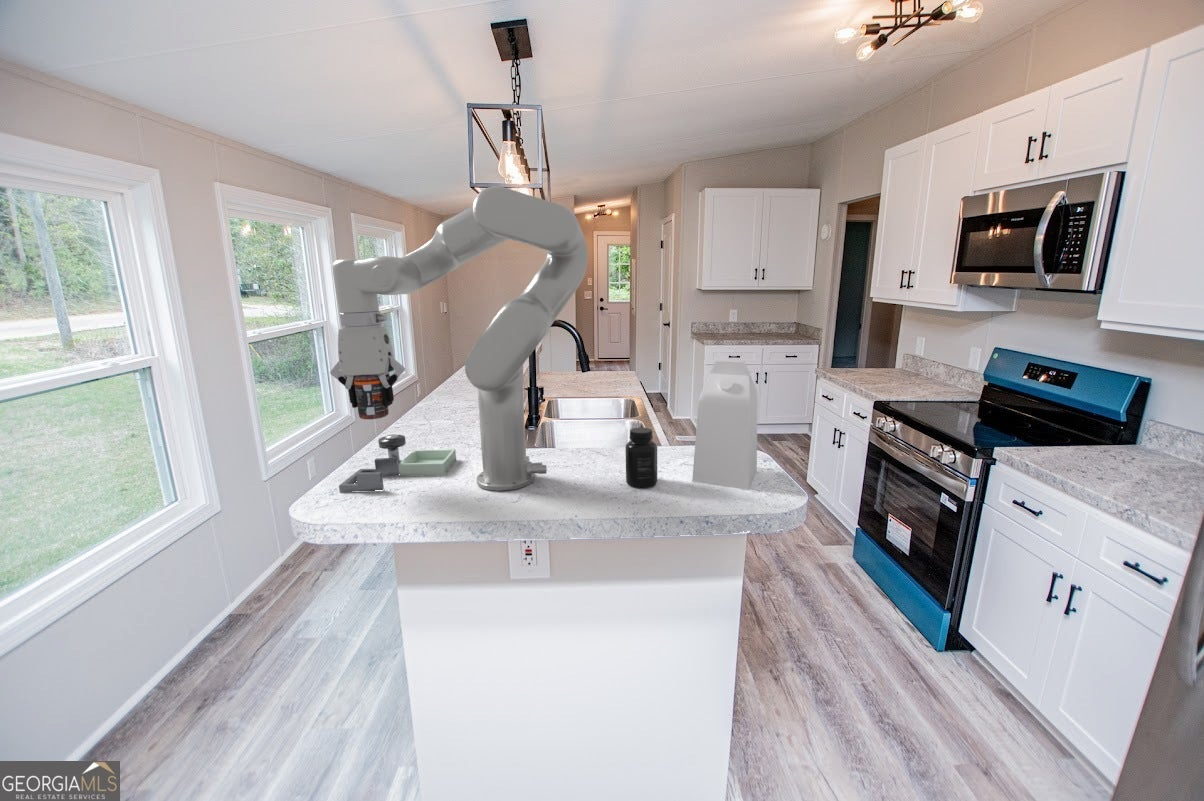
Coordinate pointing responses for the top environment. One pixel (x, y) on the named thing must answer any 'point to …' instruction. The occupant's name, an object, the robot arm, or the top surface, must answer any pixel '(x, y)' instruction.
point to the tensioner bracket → (371, 476)
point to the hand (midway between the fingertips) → (372, 404)
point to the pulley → (392, 444)
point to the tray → (427, 462)
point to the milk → (727, 428)
